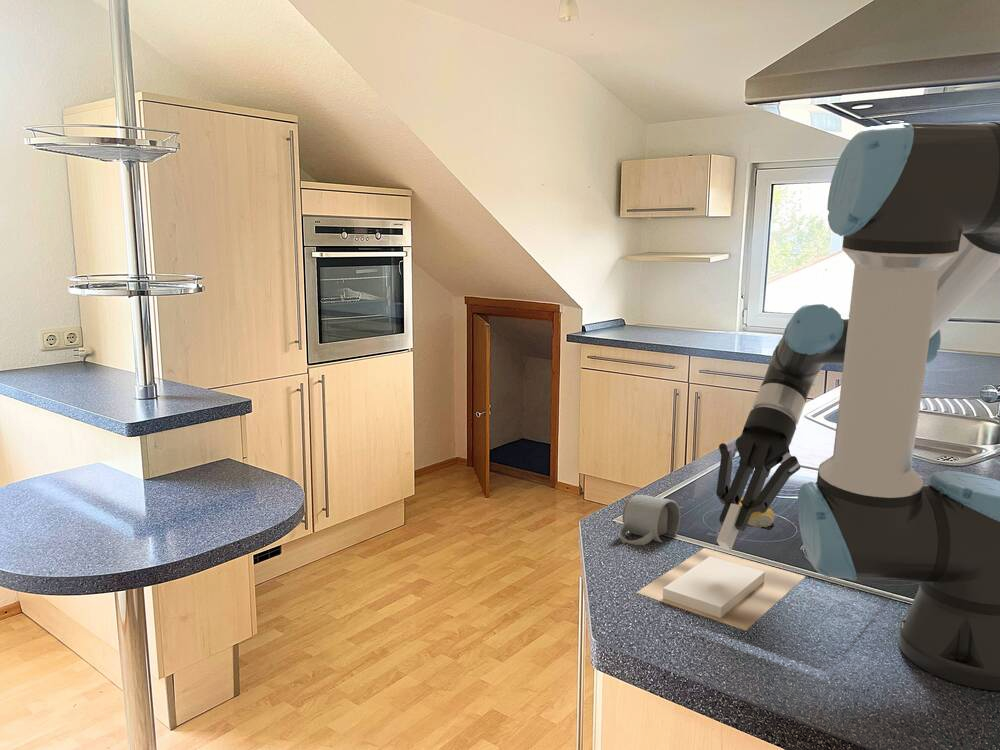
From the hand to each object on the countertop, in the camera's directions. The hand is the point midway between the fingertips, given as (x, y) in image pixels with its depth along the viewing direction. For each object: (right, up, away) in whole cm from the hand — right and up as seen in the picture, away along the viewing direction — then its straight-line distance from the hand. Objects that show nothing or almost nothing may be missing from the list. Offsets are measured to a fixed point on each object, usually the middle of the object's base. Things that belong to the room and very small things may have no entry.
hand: (723, 545), depth 114 cm
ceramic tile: (+3, -5, +5) cm, 7 cm away
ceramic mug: (-8, -4, +21) cm, 23 cm away
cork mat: (0, -7, +1) cm, 7 cm away
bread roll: (+14, -2, +30) cm, 33 cm away
